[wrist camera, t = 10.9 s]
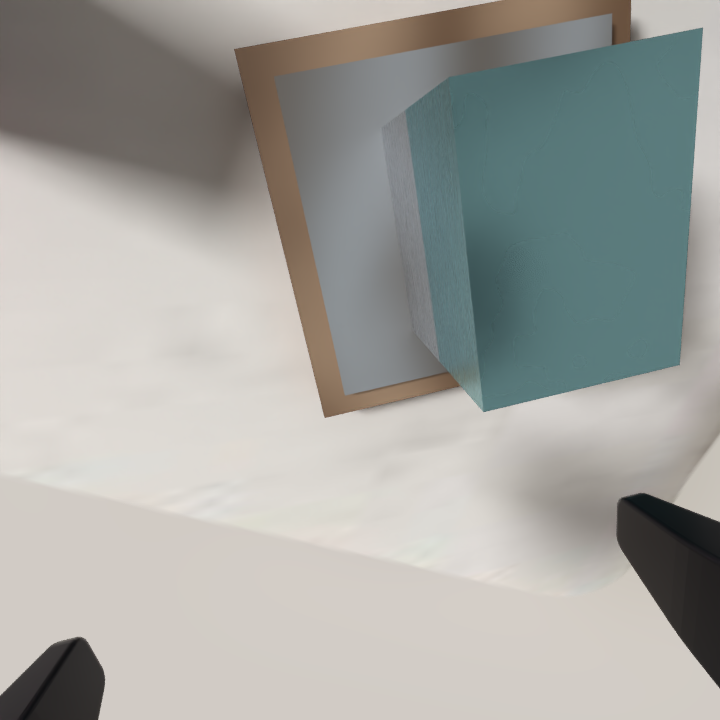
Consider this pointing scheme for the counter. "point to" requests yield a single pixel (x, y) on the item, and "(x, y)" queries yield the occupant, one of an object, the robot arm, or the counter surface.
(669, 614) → the robot arm
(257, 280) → the counter surface
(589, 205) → the teal and white box
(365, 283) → the square wooden frame
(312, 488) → the counter surface
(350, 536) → the counter surface
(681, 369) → the counter surface
